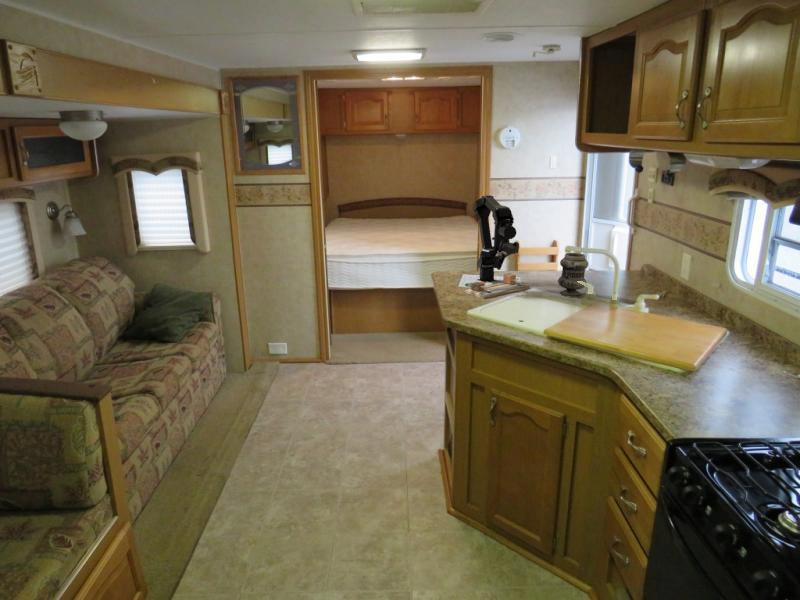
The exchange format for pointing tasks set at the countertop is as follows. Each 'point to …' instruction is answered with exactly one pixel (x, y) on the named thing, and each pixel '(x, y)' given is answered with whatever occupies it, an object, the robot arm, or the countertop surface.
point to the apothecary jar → (572, 274)
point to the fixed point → (478, 286)
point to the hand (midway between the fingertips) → (498, 269)
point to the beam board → (497, 289)
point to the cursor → (510, 278)
